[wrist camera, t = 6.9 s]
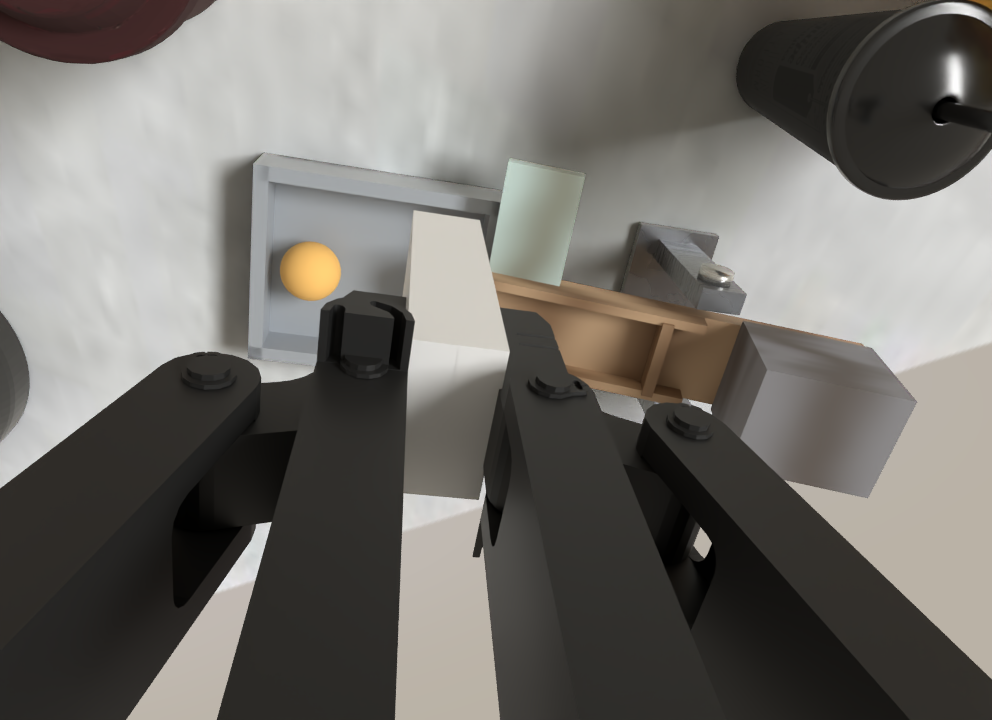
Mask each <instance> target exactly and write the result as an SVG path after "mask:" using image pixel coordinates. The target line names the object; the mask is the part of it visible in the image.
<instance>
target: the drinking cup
mask: <svg viewBox="0 0 992 720" xmlns="http://www.w3.org/2000/svg"><path fill="white" fill-rule="evenodd" d="M736 79H737V86H738V90H739V92H740V95H741V97H742V98H743V100H744V101H745V102H746V103H747V104H748V105H749V106H750V107H751V108H753V109H754V110H756V111H757V112H759V113H760V114H762V115H763V116H765V117H766V118H767V119H769V120H770V121H772V122H773V123H775V124H776V125H778V126H779V127H780V128H782V129H783V130H785V131H786V132H788V133H789V134H791V135H792V136H794V137H795V138H796V139H798V140H799V141H801V142H802V143H804V144H805V145H807V146H808V147H810V148H811V149H812V150H814V151H815V152H817V153H818V154H820V155H821V156H823V157H824V158H825V159H827V160H828V161H830V162H831V163H833V164H834V165H836V167H837V168H838V170H839V171H840V173H841V174H842V175H843V176H844V178H845V179H846V180H847V181H848V182H849V183H851V184H852V185H853V186H855V187H856V188H857V189H859V190H861V191H863V192H865V193H867V194H869V195H872V196H874V197H878V198H882V199H888V200H908V199H915V198H919V197H923V196H927V195H930V194H932V193H935V192H938V191H940V190H942V189H944V188H946V187H948V186H950V185H951V184H953V183H955V182H956V181H958V180H959V179H961V178H962V177H964V176H965V175H966V174H967V173H969V172H970V171H971V170H972V169H973V168H974V167H976V166H977V165H978V164H979V163H980V162H981V161H982V160H983V159H984V158H985V156H986V155H987V154H988V153H989V152H990V151H991V149H992V10H991V9H990V8H988V7H987V6H985V5H982V4H980V3H978V2H974V1H971V0H928V1H924V2H921V3H917V4H915V5H912V6H910V7H907V8H905V9H903V10H893V11H883V12H873V13H863V14H853V15H843V16H833V17H823V18H812V19H802V20H792V21H782V22H777V23H773V24H771V25H768V26H766V27H765V28H763V29H761V30H760V31H759V32H757V33H756V34H755V35H754V36H753V37H752V38H751V39H750V41H749V42H748V43H747V45H746V46H745V48H744V49H743V51H742V53H741V56H740V58H739V62H738V66H737V72H736Z"/></svg>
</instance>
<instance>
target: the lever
mask: <svg viewBox="0 0 992 720" xmlns="http://www.w3.org/2000/svg"><path fill="white" fill-rule="evenodd" d="M584 181H585V173H580V172H576V171H571V170H566V169H561V168H556V167H551V166H547V165H542V164H537V163H532V162H527V161H523V160H518V159H513V158H510V159H509V161H508V166H507V171H506V177H505V182H504V188H503V193H502V198H501V204H500V209H499V215H498V220H497V226H496V231H495V236H494V242H493V247H492V253H491V258H490V267H491V271H492V276H493V280H494V285H495V289H496V293H497V298H498V302H499V306H500V307H501V308H508V309H516V310H523V311H531V312H536V313H538V314H539V315H540V316H541V317H542V318H543V319H544V320H546V321H547V322H548V323H549V324H550V325H551V328H552V330H553V333H554V336H555V340H556V341H557V344H558V347H559V350H560V352H561V355H562V358H563V361H564V363H565V366H566V369H567V372H568V373H569V374H571V375H574V376H576V377H578V378H579V379H581V380H582V381H584V382H585V383H587V384H588V385H589V387H590V388H594V389H598V390H603V391H607V392H612V393H617V394H621V395H626V396H631V397H635V398H640V399H644V400H649V401H654V402H658V403H665V402H668V403H682V401H683V398H685V399H689V400H694V401H699V402H703V403H708V404H712V407H711V411H712V415H713V416H715V417H716V418H717V419H719V420H720V421H722V422H723V423H724V424H726V425H727V426H728V427H729V428H730V429H731V430H732V431H733V432H734V433H735V434H736V435H737V436H738V437H739V438H740V439H741V440H742V441H743V442H744V443H745V444H746V445H748V446H749V447H750V448H751V449H752V450H753V451H754V452H755V453H756V454H757V455H758V456H759V457H760V458H761V459H762V460H763V461H764V462H765V463H766V464H767V465H768V466H769V467H770V468H772V469H773V470H774V471H775V472H776V473H777V474H778V475H779V476H780V477H781V478H782V479H783V480H787V481H791V482H796V483H800V484H805V485H810V486H814V487H819V488H823V489H828V490H833V491H838V492H842V493H847V494H851V495H856V496H860V497H865V498H868V497H869V495H870V493H871V491H872V489H873V487H874V485H875V483H876V481H877V479H878V478H879V476H880V474H881V472H882V470H883V468H884V465H885V464H886V462H887V460H888V458H889V456H890V454H891V452H892V450H893V448H894V446H895V444H896V442H897V440H898V438H899V436H900V434H901V432H902V430H903V429H904V426H905V425H906V423H907V421H908V419H909V417H910V415H911V413H912V411H913V409H914V407H915V405H916V403H917V401H916V400H915V399H914V397H913V396H912V395H911V394H910V393H909V392H908V390H907V389H906V388H905V387H904V386H903V384H902V383H901V382H900V381H899V380H898V378H897V377H896V376H895V375H894V374H893V373H892V371H891V370H890V369H889V368H888V367H887V365H886V364H885V363H884V362H883V361H882V359H881V358H880V357H879V356H878V355H877V353H876V352H875V351H874V350H873V349H872V348H870V347H865V346H863V344H861V343H856V342H851V341H846V340H842V339H837V338H832V337H828V336H823V335H818V334H813V333H809V332H804V331H799V330H795V329H790V328H785V327H780V326H776V325H771V324H766V323H762V322H757V321H752V320H747V319H743V318H738V317H733V316H729V315H724V314H719V313H714V312H710V311H705V310H697V309H696V308H691V307H686V306H681V305H677V304H672V303H667V302H663V301H658V300H653V299H648V298H644V297H639V296H634V295H630V294H625V293H620V292H615V291H611V290H606V289H601V288H597V287H592V286H587V285H583V284H578V283H573V282H568V281H564V280H561V279H562V275H563V270H564V266H565V262H566V258H567V253H568V249H569V245H570V241H571V236H572V232H573V228H574V223H575V219H576V215H577V211H578V206H579V202H580V198H581V194H582V189H583V185H584Z"/></svg>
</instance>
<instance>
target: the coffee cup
mask: <svg viewBox="0 0 992 720" xmlns="http://www.w3.org/2000/svg"><path fill="white" fill-rule="evenodd" d="M215 1H216V0H0V40H1V41H3V42H5V43H6V44H8V45H10V46H12V47H14V48H17V49H19V50H21V51H24V52H26V53H29V54H31V55H34V56H37V57H41V58H45V59H49V60H53V61H58V62H64V63H79V64H96V63H103V62H110V61H114V60H119V59H123V58H127V57H130V56H133V55H136V54H139V53H142V52H144V51H146V50H149V49H151V48H153V47H154V46H156V45H158V44H159V43H161V42H163V41H164V40H165V39H166V38H168V37H169V36H170V35H172V34H173V33H174V32H175V31H176V30H177V29H178V28H179V27H180V26H181V25H182V24H183V22H184V21H186V20H188V19H190V18H192V17H194V16H196V15H198V14H200V13H201V12H203V11H204V10H206V9H207V8H208V7H209V6H210V5H211V4H212V3H213V2H215Z"/></svg>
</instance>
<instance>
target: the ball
mask: <svg viewBox="0 0 992 720" xmlns="http://www.w3.org/2000/svg"><path fill="white" fill-rule="evenodd" d="M280 276H281V280H282V282H283V284H284V286H285V288H286V289H287V290H288V291H289V292H290V293H291V294H292V295H294V296H295V297H297V298H299V299H302V300H306V301H316V300H321V299H323V298H325V297H327V296H329V295H330V294H331V293H332V292H333V291H334V290H335V289H336V287H337V286H338V284H339V281H340V277H341V267H340V263H339V260H338V258H337V257H336V255H335V254H334V252H333V251H332V250H331V249H329V248H328V247H327V246H325V245H323V244H321V243H318V242H311V241H308V242H301V243H298V244H296V245H294V246H293V247H291V248H290V249H289V250H288V251H287V252H286V253H285V255H284V256H283V258H282V261H281V265H280Z"/></svg>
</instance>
